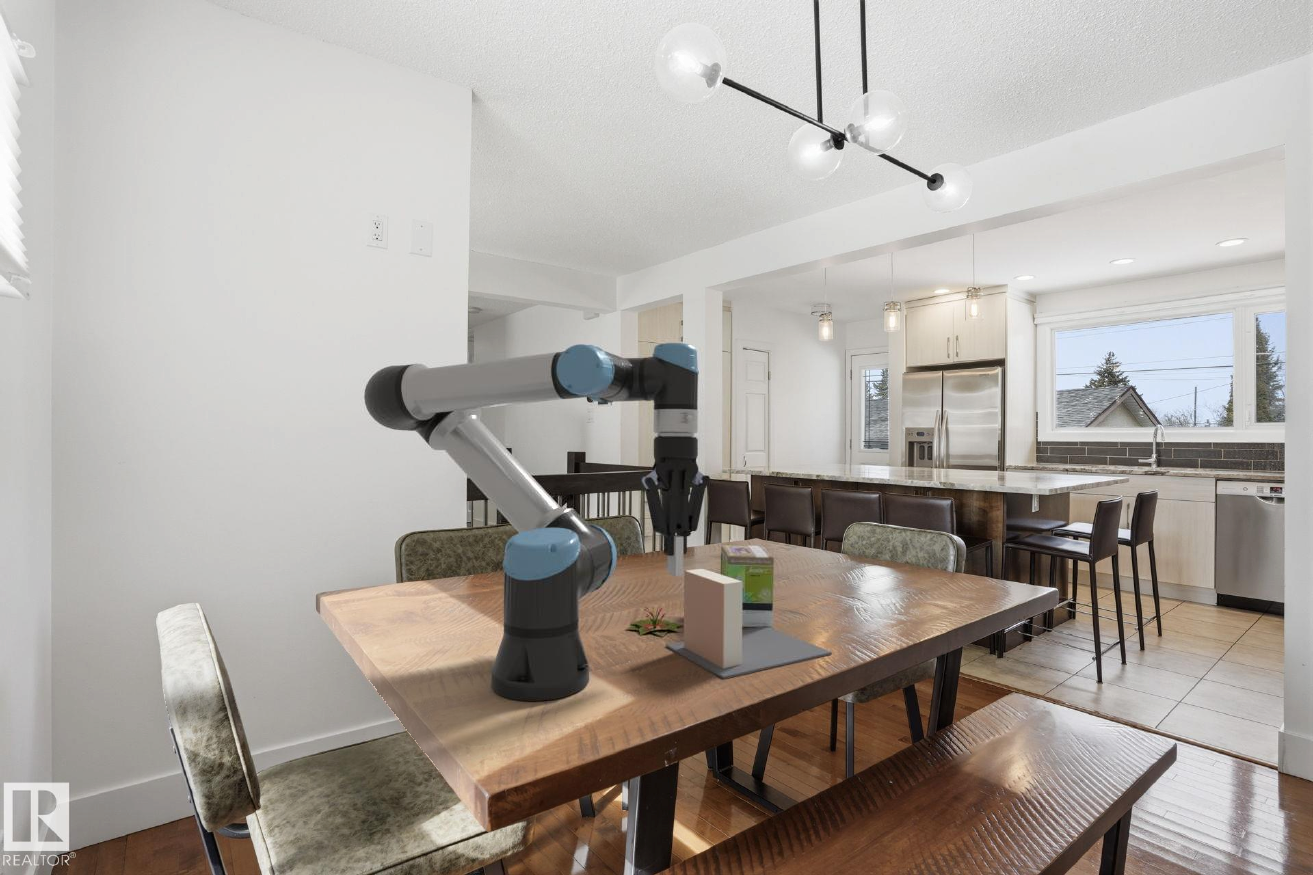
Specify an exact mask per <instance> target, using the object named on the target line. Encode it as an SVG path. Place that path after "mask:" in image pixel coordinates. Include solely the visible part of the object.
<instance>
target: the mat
mask: <svg viewBox="0 0 1313 875" xmlns="http://www.w3.org/2000/svg"><path fill="white" fill-rule="evenodd" d="M665 647H666V648H667V649H670V650H671V651H672V652H675V653H677V654H678V655H681V656H682V657H683V658H685V659H688V660H689V661H691V662H693V663H695V664H696V665H698V666H700V667H701V668H703V669H705V670H707V671H709V672H711V674H712V673H713V674H714V675H715V676H718V677H720V678H721V679H722V680H725V679H730V678H735V677H739V676H743V675H749V674H751V673H755V672H760V671H764V670H765V671H766V670H769V669H773V668H779V667H782V666H786V665H791V664H795V663H799V662H805V661H809V660H812V659H813V660H814V659H818V658H821V657H825V656H830V655H833V652H832V651H830V650H827V649H825V648H822V647H820V646H818V645H816V644H812V643H810V642H807V641H805V640H803V639H800V638H798V637H795V636H792V635H790V634H787V633H784V632H783V631H780V630H777V629H774V628H772V627H768V626H763V627H751V628H747V629H742V664H740V665H736V666H731V667H727V668H721V667H719V666H717V665H716V664H714V663H712V662H710V661H708V660H706V659H704V658H703V657H701V656H699V655H697V654H695V653H693V652H691V651H690V650H688V649H686V648H684V640H681V641H677V642H672V643H666V644H665Z"/></svg>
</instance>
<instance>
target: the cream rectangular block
mask: <svg viewBox="0 0 1313 875" xmlns="http://www.w3.org/2000/svg"><path fill="white" fill-rule="evenodd" d="M683 576H684V578H683V580H684V582H683V583H684V584H683V586H684V587H683V588H684V589H683V591H684V592H683V641H684V648H686V649H688V650H690V651H691V652H693V653H695V654H697V655H699V656H701V657H703V658H704V659H706V660H708V661H710V662H712V663H714V664H716V665H717V666H719V667H721V668H727V667H731V666H736V665H740V664H742V630H743V627H742V581H739V580H736V579H733V578H730V577H727V576H724V575H721V573H717V572H713V571H711V570H707V569H704V568H696V569H695V568H694V569H686V570H683Z"/></svg>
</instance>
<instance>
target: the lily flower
mask: <svg viewBox="0 0 1313 875" xmlns="http://www.w3.org/2000/svg"><path fill="white" fill-rule="evenodd" d="M659 608H660V607H659V606H658V607H657V610H656V612H655V615H654V611H655V610H654V608H653V611H651V610H650V609H649V608H648V606H646V607H645V608H644V611H645V612H648V613H649V614H648V613H646V615H645V617H646V619H644V620H643V619H639V620H636V621H633V622H632V624H633V625H631V626H628V627H627V628H626V630H632V631H634V630H636V631H639V636H641V635H644V634H646V633H651V634H655V635H657V636H660V637H662V638H664V636H665V635H666V634H667V633H668V630H670V631H674V632H678V633H680V631H679V629H678V628H677V627H681V626H683V624H681V623H677V622H670V620H668V619H662V618H665V615H666V613H663V614H662V615H661V617H660V618H659V616H660V614H661V611H662V609H663V607H661V608H660V609H659ZM658 610H659V611H658ZM635 624H636V625H635ZM651 627H653V629H650V628H651ZM657 627H658V628H660V629H658V631H659V630H662V631H661V632H660V633H659V632H655V629H657Z"/></svg>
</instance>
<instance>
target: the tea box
mask: <svg viewBox="0 0 1313 875" xmlns="http://www.w3.org/2000/svg"><path fill="white" fill-rule="evenodd" d="M774 562H775V558H774V556H773V554H771V553H770V552H769V551H768V550H767V549H766V547H764V546H763V545H732V544H731V545H727V544H724V545H723V544H722V545H721V548H720V575H724V576H727V577H730V578H733V579H736V580H739V581H742V628H757V627H763V626H768V627H770V628H772V626H773V624H774V623H773V621H774V620H773V619H774V617H773V616H774V608H773V607H774V573H775V571H774V570H775V563H774Z"/></svg>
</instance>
